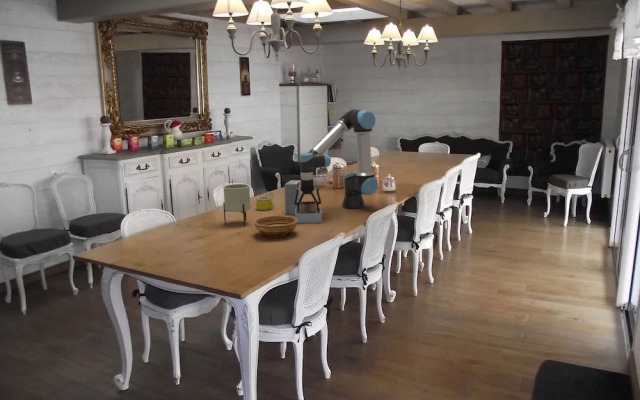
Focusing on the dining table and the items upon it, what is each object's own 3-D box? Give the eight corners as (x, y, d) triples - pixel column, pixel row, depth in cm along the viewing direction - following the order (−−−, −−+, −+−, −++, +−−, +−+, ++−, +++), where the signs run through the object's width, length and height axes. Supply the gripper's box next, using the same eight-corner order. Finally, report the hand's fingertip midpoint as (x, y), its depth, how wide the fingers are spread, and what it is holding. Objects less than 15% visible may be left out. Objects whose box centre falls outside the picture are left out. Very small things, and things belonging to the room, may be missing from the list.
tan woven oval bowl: (279, 244, 280) (278, 229, 278) (242, 238, 291) (241, 224, 290) (308, 230, 305) (308, 216, 303) (273, 225, 316) (273, 212, 315)
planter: (256, 221, 328) (254, 184, 323) (242, 227, 314) (240, 189, 309) (235, 219, 334) (233, 183, 329) (220, 225, 320) (218, 187, 315)
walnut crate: (315, 213, 331) (315, 201, 330) (315, 217, 322) (315, 204, 321) (300, 214, 331) (300, 201, 329) (300, 217, 322) (300, 204, 320)
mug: (253, 210, 357) (252, 192, 354) (261, 207, 367) (260, 189, 364) (270, 211, 352) (269, 193, 350) (277, 208, 362) (277, 190, 360)
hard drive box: (296, 215, 341) (295, 184, 337) (285, 214, 343) (283, 184, 339) (302, 209, 356) (301, 180, 352) (291, 209, 358) (290, 179, 353)
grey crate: (320, 216, 335) (320, 207, 334) (321, 222, 320) (321, 213, 319) (295, 217, 335) (295, 208, 333) (295, 223, 319) (295, 214, 318)
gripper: (324, 177, 326) (325, 213, 331) (289, 178, 325) (290, 214, 330) (325, 179, 319) (326, 216, 323) (288, 180, 318) (290, 217, 323)
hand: (308, 215), depth 327 cm, fingers closed on walnut crate, 9 cm apart
